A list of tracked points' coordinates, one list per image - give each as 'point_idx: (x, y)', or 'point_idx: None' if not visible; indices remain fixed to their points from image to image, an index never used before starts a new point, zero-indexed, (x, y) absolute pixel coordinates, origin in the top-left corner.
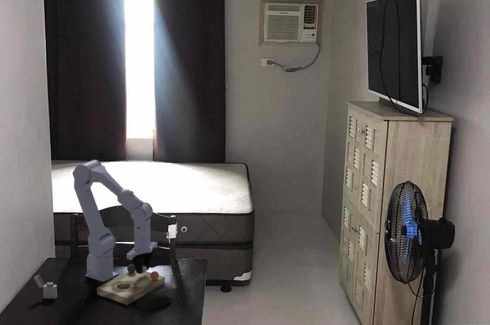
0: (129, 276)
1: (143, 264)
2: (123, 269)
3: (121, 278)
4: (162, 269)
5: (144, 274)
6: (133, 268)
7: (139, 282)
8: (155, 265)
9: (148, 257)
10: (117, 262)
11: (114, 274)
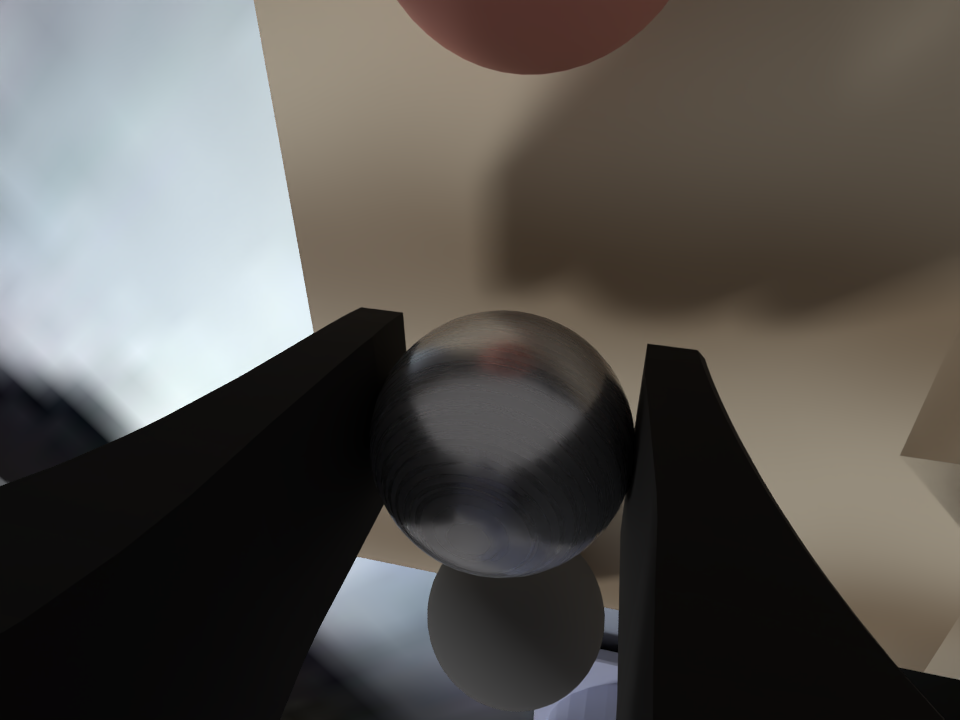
0: None
1: (426, 523)
2: (393, 632)
3: (847, 592)
4: (5, 238)
5: None
6: (537, 599)
7: (935, 181)
8: (31, 390)
9: (125, 642)
10: (316, 715)
11: (597, 673)
